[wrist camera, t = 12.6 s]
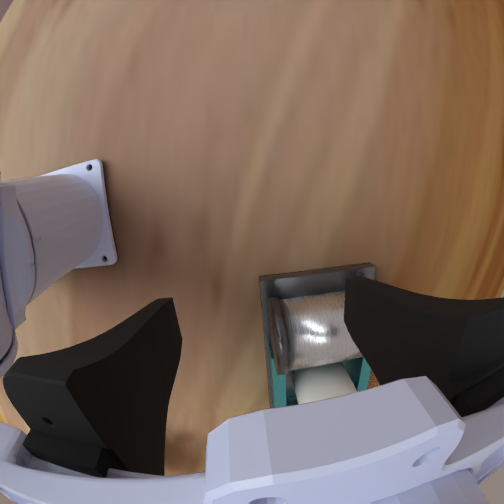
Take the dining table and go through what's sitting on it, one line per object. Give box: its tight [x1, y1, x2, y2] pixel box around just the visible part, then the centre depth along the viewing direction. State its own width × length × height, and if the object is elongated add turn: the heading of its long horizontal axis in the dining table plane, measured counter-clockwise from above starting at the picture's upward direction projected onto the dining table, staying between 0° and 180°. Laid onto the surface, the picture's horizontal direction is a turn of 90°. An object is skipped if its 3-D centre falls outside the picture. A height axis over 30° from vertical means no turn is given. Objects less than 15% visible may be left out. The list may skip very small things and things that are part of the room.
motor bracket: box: [259, 262, 375, 408], centre depth 20 cm, size 10×14×6 cm
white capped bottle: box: [292, 361, 357, 404], centre depth 19 cm, size 5×5×7 cm
